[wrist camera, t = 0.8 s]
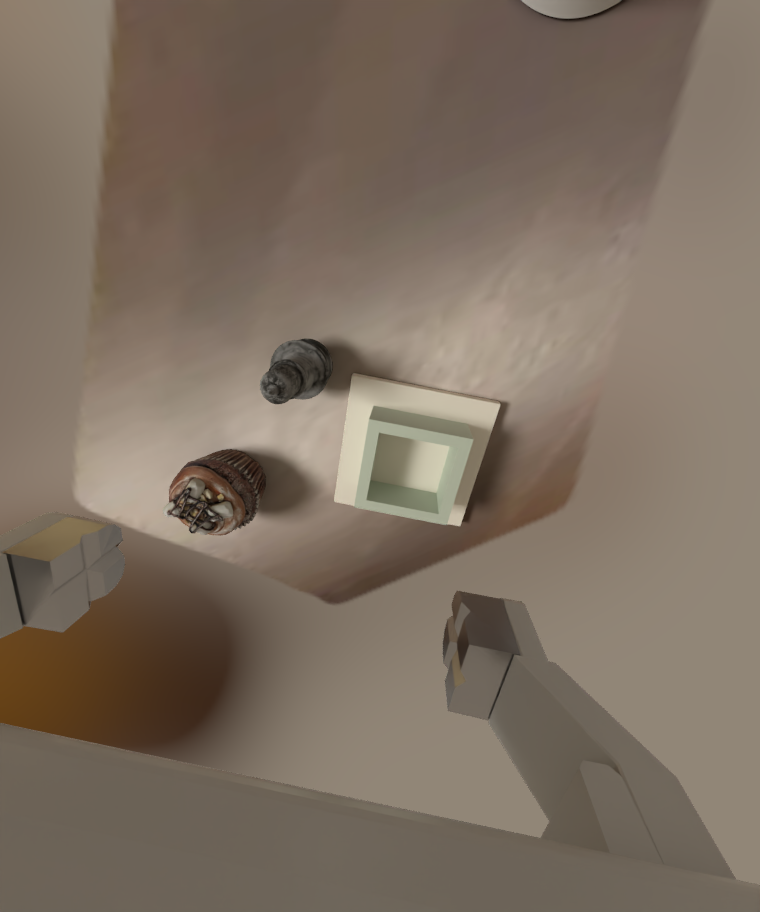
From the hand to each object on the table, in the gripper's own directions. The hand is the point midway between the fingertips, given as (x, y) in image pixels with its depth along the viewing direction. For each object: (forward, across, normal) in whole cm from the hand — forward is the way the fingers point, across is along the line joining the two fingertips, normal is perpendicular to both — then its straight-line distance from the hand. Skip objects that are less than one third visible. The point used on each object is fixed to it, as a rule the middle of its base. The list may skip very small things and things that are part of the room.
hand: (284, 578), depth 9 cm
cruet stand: (+34, -4, +8) cm, 35 cm away
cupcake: (+34, +17, +15) cm, 41 cm away
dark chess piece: (+33, +9, -1) cm, 34 cm away
